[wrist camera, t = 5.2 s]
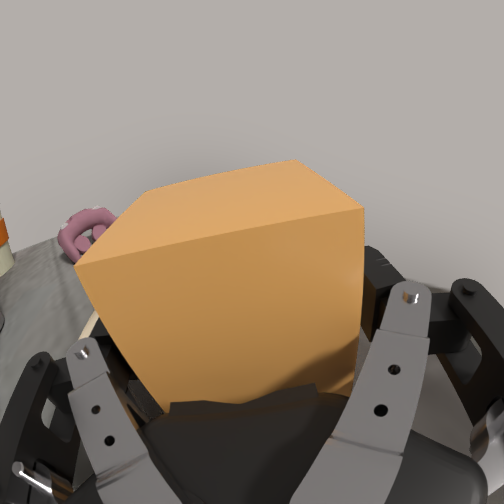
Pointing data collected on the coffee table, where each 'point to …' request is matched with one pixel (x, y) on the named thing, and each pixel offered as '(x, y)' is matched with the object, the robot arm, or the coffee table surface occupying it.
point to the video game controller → (83, 230)
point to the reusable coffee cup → (4, 249)
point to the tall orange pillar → (233, 285)
